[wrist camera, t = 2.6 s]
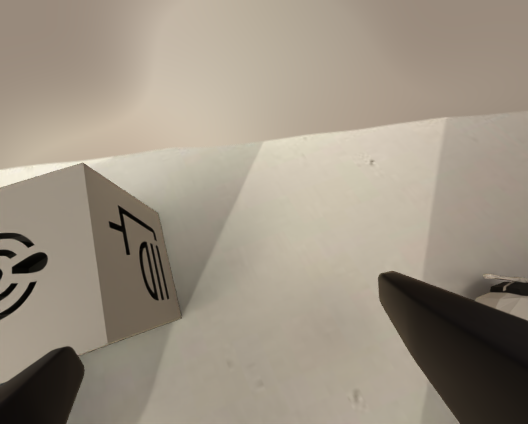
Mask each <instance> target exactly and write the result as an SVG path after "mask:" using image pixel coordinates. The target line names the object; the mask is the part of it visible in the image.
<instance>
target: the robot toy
mask: <svg viewBox="0 0 528 424" xmlns="http://www.w3.org/2000/svg"><path fill="white" fill-rule="evenodd" d="M483 276H484V278H494V279H502V280H510V281H512V282H503V283H500V284H498V285H495V286H492V287H491V289H490V293H487V294H485V295H482V296H480V297H477V298H476V300H475V301H477V302H479V303H482V304H485V305H487V306H490V307H493V308H496V309H498V310H501V311H504V312H506V313H509V314H512V315H515V316H517V317H520V318H523V319H525V320H528V283H527V282H526V278H522V277H504V276H496V275H494V274H483Z"/></svg>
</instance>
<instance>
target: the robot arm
mask: <svg viewBox="0 0 528 424" xmlns="http://www.w3.org/2000/svg"><path fill="white" fill-rule="evenodd" d="M378 285H379V299H380V302H381V304H382V306H383V308H384V310H385V311H386V313H387V315H388V316H389V318H390V320H391V322H392V323H393V325H394V327H395V328H396V330H397V332H398V334H399V335H400V337H401V339H402V340H403V342H404V344H405V346H406V347H407V349H408V351H409V352H410V354H411V355H412V357H413V358H414V360H415V361H416V363H417V364H418V366H419V367H420V368H421V370H422V371H423V373H424V374H425V375H426V377H427V378H428V380H429V381H430V382H431V384H432V385H433V387H434V388H435V389H436V391H437V392H438V393H439V395H440V396H441V398H442V399H443V400H444V402H445V403H446V405H447V406H448V407H449V409H450V410H451V412H452V413H453V414H454V416H455V417H456V419H457V420H458V421H459V423H460V424H528V320H525V319H523V318H520V317H517V316H515V315H512V314H509V313H506V312H504V311H501V310H498V309H496V308H493V307H490V306H487V305H485V304H482V303H479V302H477V301H474V300H471V299H468V298H466V297H463V296H460V295H458V294H455V293H452V292H449V291H447V290H444V289H441V288H439V287H436V286H433V285H430V284H428V283H425V282H422V281H420V280H417V279H414V278H412V277H409V276H406V275H403V274H401V273H398V272H395V271H389V272H385V273H381V274H380V275H379V277H378ZM84 372H85V370H84V365H83V363H82V362H81V360H80V358H79V357H78V355H77V354H76V352H75V350H74V349H73V348H72V347H70V346H65V347H61V348H56V349H53V350H51V351H50V352H48V353H47V354H45V355H44V356H43V357H41V358H40V359H38V360H37V361H36V362H34V363H33V364H31V365H30V366H28V367H27V368H26V369H24V370H23V371H21V372H20V373H19V374H17V375H16V376H14V377H13V378H11V379H10V380H9V381H7V382H6V383H4V384H3V385H1V386H0V424H66V422H67V420H68V417H69V414H70V412H71V409H72V406H73V403H74V401H75V398H76V395H77V393H78V390H79V387H80V384H81V382H82V379H83V376H84Z"/></svg>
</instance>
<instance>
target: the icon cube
mask: <svg viewBox="0 0 528 424" xmlns="http://www.w3.org/2000/svg"><path fill="white" fill-rule="evenodd" d="M181 318H182V317H181V313H180V308H179V304H178V299H177V295H176V290H175V286H174V282H173V277H172V273H171V268H170V264H169V260H168V255H167V251H166V246H165V242H164V237H163V233H162V229H161V224H160V220H159V215H158V213H157V212H156V211H154V210H153V209H151V208H150V207H148V206H147V205H145V204H144V203H142V202H141V201H139V200H138V199H136V198H135V197H133V196H132V195H130V194H129V193H127V192H126V191H124V190H123V189H121V188H120V187H118V186H117V185H115V184H114V183H112V182H111V181H109V180H108V179H106V178H105V177H103V176H102V175H100V174H99V173H97V172H96V171H94V170H93V169H92V168H90V167H89V166H87V165H86V164H84V163H80V164H77V165H74V166H70V167H67V168H64V169H60V170H57V171H54V172H50V173H47V174H44V175H41V176H37V177H34V178H31V179H27V180H24V181H21V182H17V183H14V184H11V185H8V186H4V187H1V188H0V384H2V383H5V382H7V381H9V380H10V379H11V378H13V377H14V376H16V375H17V374H19V373H20V372H21V371H23V370H24V369H26V368H27V367H28V366H30V365H31V364H33V363H34V362H36V361H37V360H38V359H40V358H41V357H43V356H44V355H45V354H47V353H48V352H50V351H51V350H53V349H56V348H61V347H65V346H70V347H72V348H73V349H74V350H75V352H76V354H77V355H78V356H79V355H82V354H85V353H88V352H90V351H93V350H96V349H99V348H101V347H104V346H107V345H110V344H112V343H115V342H118V341H121V340H123V339H126V338H129V337H132V336H134V335H137V334H140V333H143V332H145V331H148V330H151V329H153V328H156V327H159V326H162V325H164V324H167V323H170V322H173V321H175V320H178V319H181Z"/></svg>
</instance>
